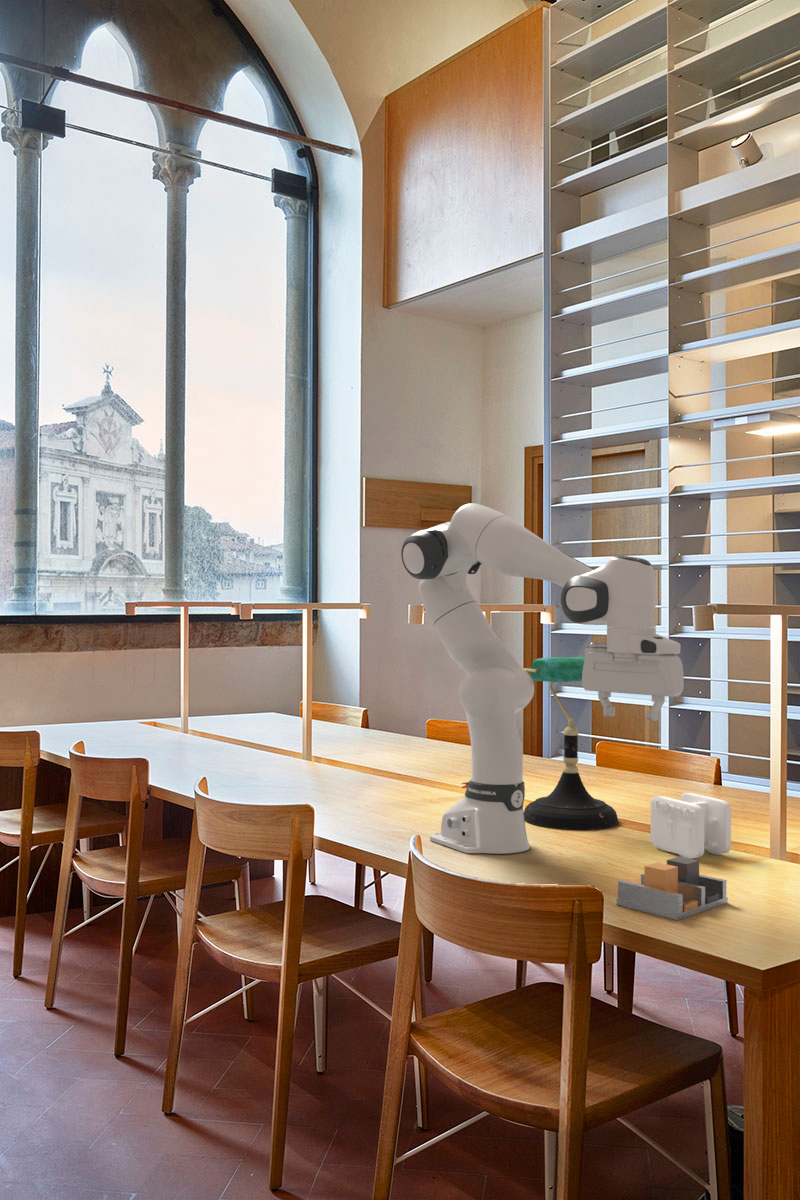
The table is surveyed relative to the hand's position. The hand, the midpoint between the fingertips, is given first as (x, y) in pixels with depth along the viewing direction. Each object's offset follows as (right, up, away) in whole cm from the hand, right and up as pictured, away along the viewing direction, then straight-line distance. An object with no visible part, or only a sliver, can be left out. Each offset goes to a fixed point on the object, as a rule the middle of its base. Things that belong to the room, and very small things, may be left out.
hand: (630, 718), depth 188 cm
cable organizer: (+19, -32, +29) cm, 47 cm away
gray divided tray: (+5, -31, -11) cm, 33 cm away
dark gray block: (+7, -30, -8) cm, 32 cm away
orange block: (+2, -30, -13) cm, 33 cm away
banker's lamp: (-1, -32, +62) cm, 70 cm away
